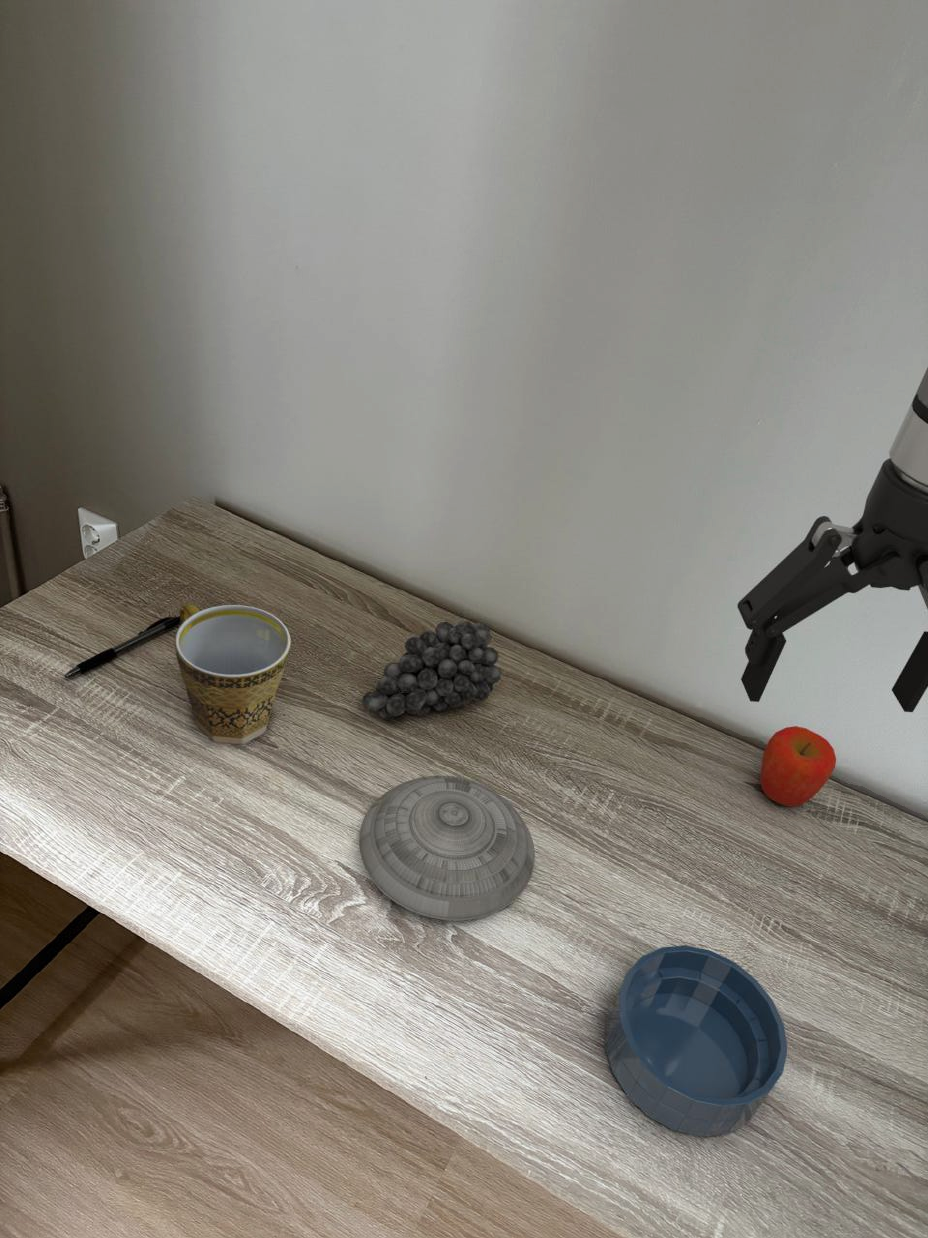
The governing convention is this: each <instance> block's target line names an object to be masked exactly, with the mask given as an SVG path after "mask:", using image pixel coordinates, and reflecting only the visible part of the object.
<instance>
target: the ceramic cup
mask: <svg viewBox="0 0 928 1238" xmlns="http://www.w3.org/2000/svg"><path fill="white" fill-rule="evenodd" d="M179 616H180V619H181V622H180V623H181V624H180V625H179V626H178V629H177V630H176V632H175V635H174V650H175V655H176V661H177V664H178V669H179V672H180V675H181V677H182V681H183V684H184V685H185V690H186V694H187V697H188V701H189V705H190V707H191V711H192V716H193V719H194V722H195V725H196V726H197V727H198V728H199V729H200V731H202V732H203V733H204V734H205V735H206V736H207V737H208V738H209V739H210V740H211V741H212V742H214V743H220V744H231V745H246V744H247V743H249V742H251V741H252V740H255V739H256V738H258V737H260V736H262V735H264V734H265V732H266V730H267V727H268V724H269V721H270V720H269V719H270V716H271V712H272V708H273V704H274V700H275V698H276V694H277V690H278V688H279V687H280V686H279V685H280V683H281V681H282V678H283V676H284V671H285V669H286V665H287V662H288V658H289V653H290V650H291V644H292V641H291V635H290V632H289V629H288V628H287V627H286V625H285V624H284V623H283V622H282V621H281V620H280V618H278V617H277V616H276V615H274V614H272V613H270V612H268V611H266V610H263V609H260V608H257V607H253V606H248V605H240V604H225V605H217V606H212V607H209V608H205V609H202V610H200V609H199V608H197V607H196V606H194V605H193V604H187V603H186V604H184V605H182V606H181V607H180V609H179Z"/></svg>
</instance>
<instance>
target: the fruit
mask: <svg viewBox="0 0 928 1238" xmlns="http://www.w3.org/2000/svg"><path fill="white" fill-rule="evenodd" d="M492 638H493V636H492V634H491V630H490V626H489V625H487V624H486V623H484V622H482V621H480V622H479V621H478V622H476V623H474V624H472V623H471V622H470V621H469V620H460V621H459V622H458V623H457V624H456V625H453V624H452V623H451V622H449V621H440V622H438V623H437V624H436V628H435V630H434V631H432V630H426V631H423V632H421V634H420V635H419V636H415V635H414V636H410V637H409V638H407V640H406V641H405V643H404V648H405V650H406V652H405V653H403V654H402V655H401V656H400V658H399V661H398V662H389V663H387V664H386V665H385V667H384V669H383V676H381V678H380V679H379V680H378V682H377V684H376V685H375V687H374V691H368V692H366V693H365V694H364V695H363V696H362V699H361V703H362V705H363V708H364V709H365V710H366V711H367V712H374V711H375V712H376V711H378V714H379V716H380V717H381V719H383V720H388V721H392V720H394V719H396V717H398V716H400V715H402V714H404V712H406V713H408V714H409V715H410V714H411V715H416V716H418V717H422V718H423V717H426V715H428V714H429V713H430V711H431V706H432V707H433V708H434V710H435V711H436V712H437V711H438V712H443V711H446V710H447V708H448V706H449V708H452V709H459V708H461V707H462V708H464V707H466V706H468V705H469V704H470V702H471V700H473V699H475V700H477V701H485V700H488V698H489V696H490V694H491V693H492V692H493V691H494V684H496V683H498V682H499V681H500V680H501V672H502V671H501V670H500V668H499V666H497V665H495V664H496V663H497V662H498V660H499V657H502V654H500V653H499V652H498V651H497V650H496V649H495V648H494V647H492V646H489V645H491V642H492Z"/></svg>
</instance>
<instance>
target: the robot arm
mask: <svg viewBox="0 0 928 1238" xmlns="http://www.w3.org/2000/svg"><path fill="white" fill-rule="evenodd" d="M888 454H889V458H887V459H886V460H884V461H883V462H882V464H881V466H880V469H879V471H878V473H877V474H876V477H875V479H874V481H873V484H872V486H871V488H870V490H869V492H868V495H867V497H866V499H865V504H864V509H863V514H862V516H861V518H860V519H859V520H858V521H857V522H856V523H855V524H853V525H852V526H851V527H847V526H843V525H839V524H834V523H833V522H832V520H831V519H830V517H829V516H827V515H822V516H819V517H818V518H816V519H815V521H814V522H813V524H812V526H811V527H810V528H809V531H808V532H807V534H806V536H805V538H804V540H802V541H801V542H800V543H799V544H798V545H797V546H796V547H795V548H794V549H793V550H792V551H790V553H789V554H787V555H786V556H785V558H783V559H782V560H781V561H780V562H779V563H778V564H777V565H776V566H775V567H774V568H773V569H772V570H771V571H769V573H768V574H767V575H765V576H764V578H762V579H761V580H760V581H759V582H758V583H757V584H756V585H755V586H754V587H753V588H752V589H751V590H749V592H747V593H746V594H745V595H744V596H743V597H742V598H741V599H740V600H739V601H738V602H737V605H736V606H737V607H736V608H737V609H738V612H739V614H740V616H741V618H742V621H743V623H744V625H745V627H746V628H747V630H750V631H751V632H750V635H749V638H748V640H747V643H746V644H745V647H744V651H745V652H744V653H745V657H746V658H747V660H748V662H747V664H746V665H745V669H744V670H743V673H742V676H741V677H740V681H741V683H742V686H743V688H744V690H745V692H746V695H747V697H748V700H749V702H752V703H753V702H755V703H759V702H760V700H761V699H762V696H763V694H764V692H765V690H766V688H767V685H768V683H769V682H770V679H771V676H772V674H773V672H774V670H775V668H776V666H777V663H778V661H779V659H780V656H781V654H782V653H783V650H784V648H785V645H786V644H787V639H786V637H785V635H784V633H785V632H786V631H788V630H789V629H791V628H792V627H795V626H796V625H798V624H799V623H801V622H803V621H804V620H806V619H807V618H809V617H810V616H813V614H816V613H817V612H819V611H820V610H822V609H823V608H825V607H826V606H828V605H830V604H831V603H833V602H834V601H836V600H838V599H839V598H841V597H842V596H845V595H846V594H848V593H850V594H856V593H858V592H860V591H861V590H863V589H865V588H866V587H868V586H870V588H872V589H873V588H874V589H886V588H894V589H896V590H899V591H909V592H910V590H911V588H915V587H918V589H919V592H920V594H921V597H922V599H923V601H924V604H925V607H926V609H927V610H928V367H927V368H926V370H925V371H924V375H923V376H922V378H921V381H920V383H919V385H918V387H917V390H916V393H915V395H914V397H913V399H912V401H911V403H910V405H909V407H908V409H907V412H906V414H905V416H904V419H903V421H902V422H901V425H900V427H899V429H898V432H897V434H896V435H895V437H894V440H893V442H892V444H891V447H890V449H889V451H888ZM852 564H854V567H855V570H856V571H857V572H856V573H854V574H852V573H851V571H849V566H850V565H852ZM927 689H928V631H926V630H924V631H923V633H922V634H921V636H920V638H919V640H918V642H917V643H916V645H915V647H914V649H913V651H912V652H911V654H910V656H909V658H908V659H907V661H906V663H905V665H904V667H903V669H902V670H901V672H900V673H899V676H898V678H897V679H896V680H895V683H894V684H893V686H892V688H891V692H892V693H893V696H894V697H895V699H896V700H897V702H898V703H899V705H900V707H901V709H902V711H903V712H904V713H914V711H915V709H916V707H918V704H919V703H920V701H921V699H922V697H923V696H924V694H925V693H926V691H927Z"/></svg>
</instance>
